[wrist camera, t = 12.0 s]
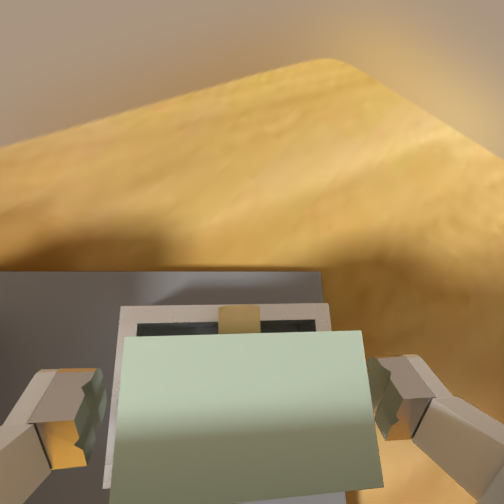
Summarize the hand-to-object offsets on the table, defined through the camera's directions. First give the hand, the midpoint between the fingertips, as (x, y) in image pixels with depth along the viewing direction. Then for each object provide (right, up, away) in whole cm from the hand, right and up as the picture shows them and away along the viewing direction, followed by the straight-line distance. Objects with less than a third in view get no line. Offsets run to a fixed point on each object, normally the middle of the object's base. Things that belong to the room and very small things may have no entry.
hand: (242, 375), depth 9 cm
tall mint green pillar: (-1, -3, +7) cm, 8 cm away
